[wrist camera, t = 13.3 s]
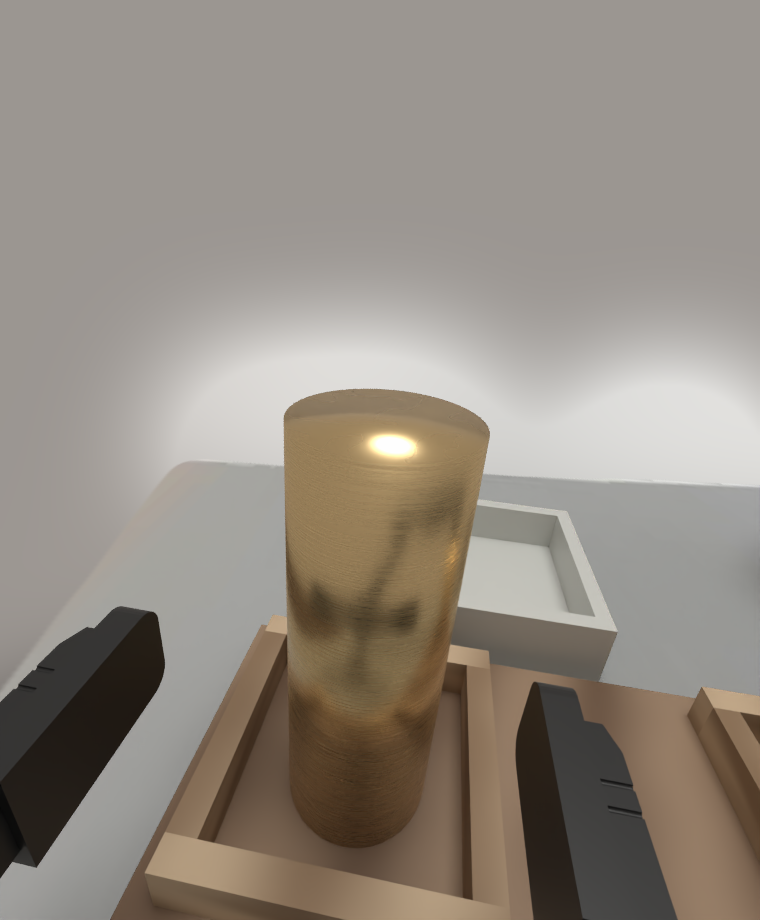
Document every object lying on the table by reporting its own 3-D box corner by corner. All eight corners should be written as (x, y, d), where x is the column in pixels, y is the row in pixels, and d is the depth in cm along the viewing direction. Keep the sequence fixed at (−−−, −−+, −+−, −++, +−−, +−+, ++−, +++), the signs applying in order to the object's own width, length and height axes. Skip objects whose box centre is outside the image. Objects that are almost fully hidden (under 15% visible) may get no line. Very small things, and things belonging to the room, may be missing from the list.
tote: (555, 553, 33) (567, 511, 32) (597, 684, 23) (617, 631, 22) (401, 531, 34) (406, 489, 33) (379, 647, 24) (384, 594, 23)
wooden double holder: (925, 757, 21) (966, 712, 20) (1425, 1301, 10) (1587, 1280, 9) (262, 642, 24) (260, 597, 23) (105, 963, 13) (85, 911, 12)
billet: (352, 687, 21) (374, 379, 15) (449, 763, 18) (524, 423, 12) (260, 775, 17) (239, 414, 11) (364, 887, 14) (409, 489, 8)
